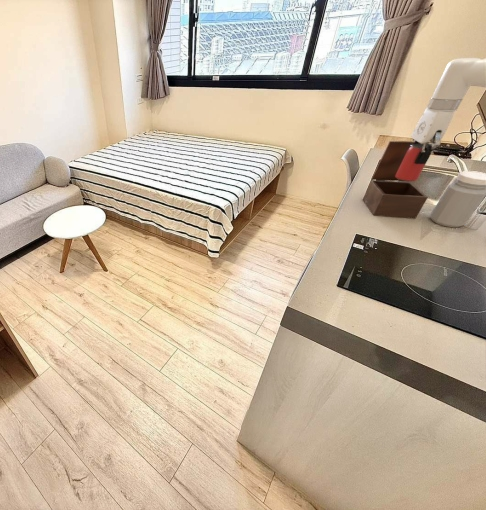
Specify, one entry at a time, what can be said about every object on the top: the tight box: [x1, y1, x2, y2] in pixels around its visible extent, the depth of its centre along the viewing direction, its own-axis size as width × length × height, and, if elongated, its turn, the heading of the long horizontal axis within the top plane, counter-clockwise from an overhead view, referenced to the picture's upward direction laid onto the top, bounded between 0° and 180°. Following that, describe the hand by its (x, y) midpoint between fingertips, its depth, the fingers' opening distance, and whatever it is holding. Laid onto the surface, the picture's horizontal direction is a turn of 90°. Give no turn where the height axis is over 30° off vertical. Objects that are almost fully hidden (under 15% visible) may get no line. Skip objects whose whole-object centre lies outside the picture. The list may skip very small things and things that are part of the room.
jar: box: [430, 170, 486, 228], centre depth 98 cm, size 10×10×18 cm
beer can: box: [395, 144, 430, 182], centre depth 100 cm, size 7×7×12 cm
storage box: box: [362, 179, 429, 219], centre depth 111 cm, size 15×14×9 cm
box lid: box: [371, 140, 431, 182], centre depth 110 cm, size 16×14×5 cm
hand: (415, 159), depth 100 cm, fingers closed on beer can, 6 cm apart
